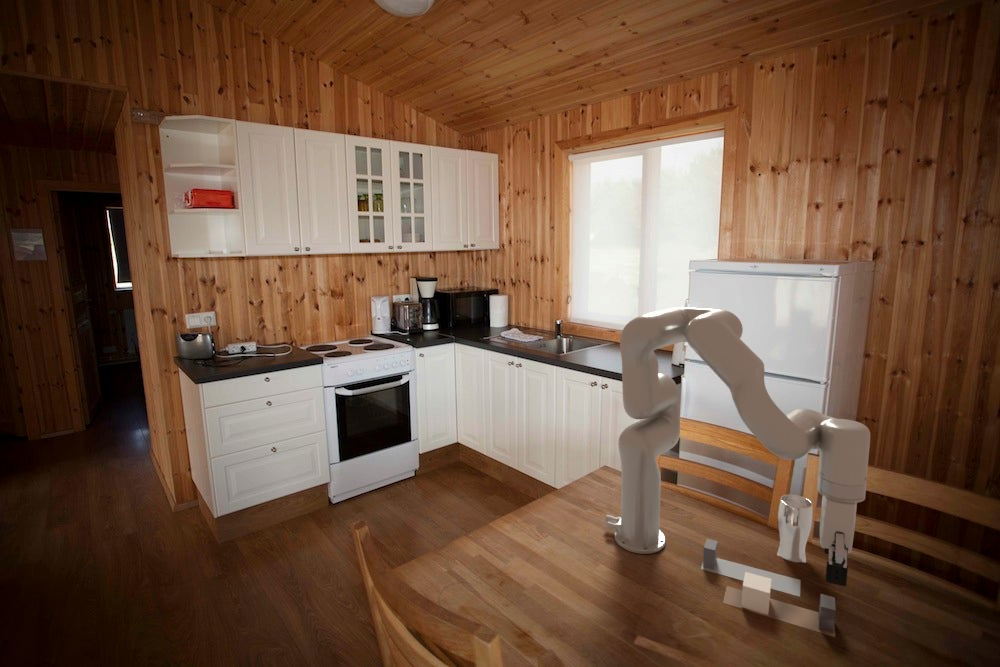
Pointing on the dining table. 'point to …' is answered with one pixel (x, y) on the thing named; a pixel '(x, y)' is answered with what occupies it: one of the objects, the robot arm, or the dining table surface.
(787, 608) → the brown long piece
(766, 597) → the cream block
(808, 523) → the beer glass
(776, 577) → the grey strip
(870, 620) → the dining table surface
